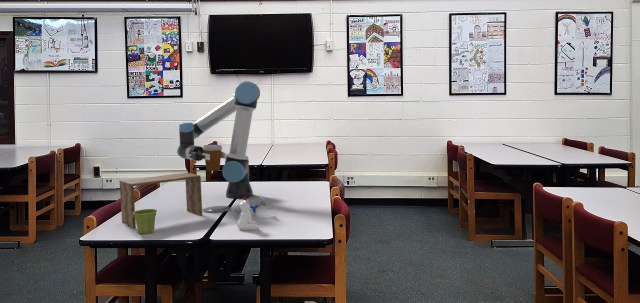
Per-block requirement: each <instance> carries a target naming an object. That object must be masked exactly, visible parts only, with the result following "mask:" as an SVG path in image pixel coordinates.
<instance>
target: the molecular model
mask: <svg viewBox="0 0 640 303" xmlns="http://www.w3.org/2000/svg"><path fill="white" fill-rule="evenodd" d="M242 199H243V201H244V200H245V201H247V202H248V200H247V197H246V196H244V197H243V198H242ZM265 200H266V199H265V198H264V197H263V196H262V195H261V196H259V203H257V204H256V205H255V206H253V205H251V204H250V205H249V206H250V208H251V209H250V210H252V214H253V216H254V217H255V216H257V211H256V209H258V208H259V207H260V206H264V207H266V208H267V209H269V208H270V205H269V204H267V203H265ZM230 211H232V212H235V213H236V217H237V218H238V220H239V219H240V216H241V213H242V211H241V209H240V208H239V209H236V208H234V207H231V210H230Z"/></svg>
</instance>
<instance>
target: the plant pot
mask: <svg viewBox="0 0 640 303" xmlns="http://www.w3.org/2000/svg"><path fill="white" fill-rule="evenodd" d="M157 212H158V210H157V209H154V208H144V209H139V210H135V212H133V214H134V217H135V222H136V229H137V233H138V234H143V235H146V234H151V233H153V232H155V226H156V222H155V221H156V216H157Z"/></svg>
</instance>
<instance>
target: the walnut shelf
mask: <svg viewBox="0 0 640 303" xmlns="http://www.w3.org/2000/svg"><path fill="white" fill-rule="evenodd" d="M201 179H202V177H201V175H199V174H195V173H192V172H191V173H190V172H183V173H174V174H163V175H157V176H147V177H139V178H132V179H130V178H129V179H123V180H119V192H120V193H119V194H120V210H121V223H122V222H123V223H122V224H124V223H125V224H124V225H126V224H127V225H126V226H128V225H129V226H128V227H130V228H132V229H137V224H136V219H135V217H134V214H133V212H135V211H136V207H135V190H134V187H136V186H146V185H152V184H161V183H168V182H177V181H178V182H179V181H185V195H186V196H185V197H186V212H188V213H192V214H194V215H197V216H200V217H202V216H203V204H202V203H203V200H202V199H203V198H202V180H201Z"/></svg>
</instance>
